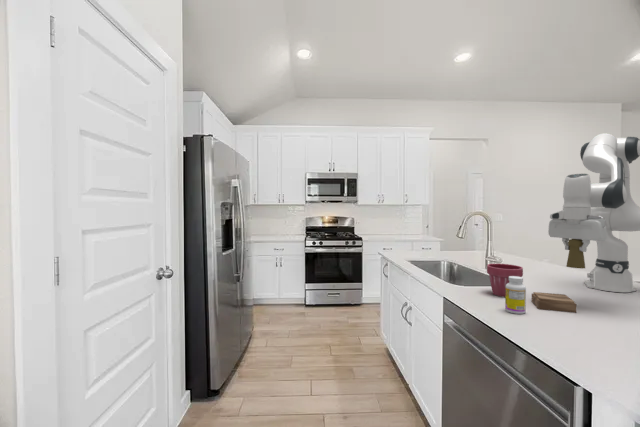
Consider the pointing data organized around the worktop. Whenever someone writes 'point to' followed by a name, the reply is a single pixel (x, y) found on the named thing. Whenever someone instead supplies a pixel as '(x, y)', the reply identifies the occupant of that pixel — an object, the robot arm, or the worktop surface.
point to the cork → (575, 254)
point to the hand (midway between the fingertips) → (575, 250)
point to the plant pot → (502, 276)
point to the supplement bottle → (515, 295)
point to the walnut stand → (553, 302)
